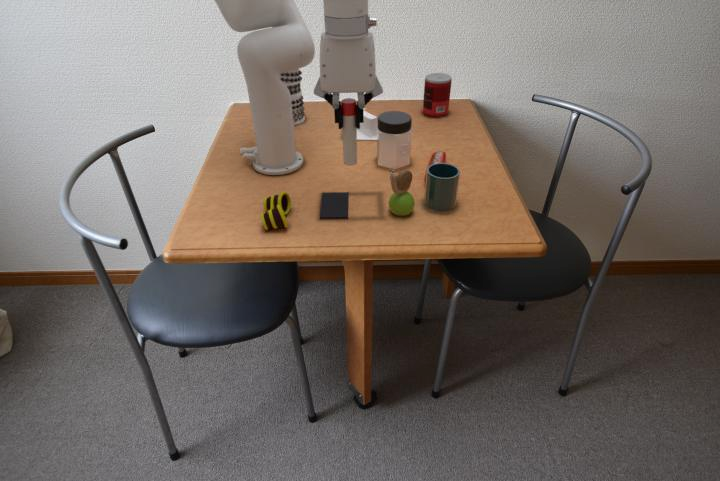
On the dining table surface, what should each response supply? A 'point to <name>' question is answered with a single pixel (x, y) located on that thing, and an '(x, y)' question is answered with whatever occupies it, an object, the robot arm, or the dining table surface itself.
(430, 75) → the canned food
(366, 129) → the napkin holder
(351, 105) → the marker
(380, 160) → the jar
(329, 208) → the mat
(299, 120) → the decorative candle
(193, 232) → the dining table surface
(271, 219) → the opera glasses
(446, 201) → the pen cup
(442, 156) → the candy bar
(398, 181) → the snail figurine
